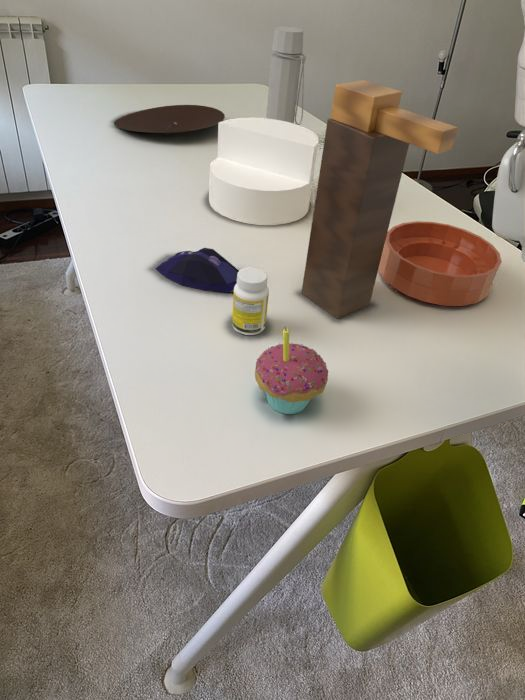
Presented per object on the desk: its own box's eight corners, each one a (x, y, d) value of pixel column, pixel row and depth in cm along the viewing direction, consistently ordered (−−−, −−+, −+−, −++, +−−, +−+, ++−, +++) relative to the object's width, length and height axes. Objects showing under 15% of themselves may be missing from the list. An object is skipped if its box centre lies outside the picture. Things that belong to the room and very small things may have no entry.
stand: (369, 305, 84) (412, 130, 68) (337, 319, 80) (374, 138, 64) (333, 281, 89) (365, 112, 72) (301, 293, 85) (327, 118, 69)
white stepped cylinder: (189, 206, 106) (189, 135, 98) (240, 175, 120) (244, 111, 112) (281, 235, 100) (290, 162, 91) (324, 199, 114) (334, 133, 106)
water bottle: (259, 143, 137) (268, 29, 122) (268, 134, 143) (278, 24, 128) (295, 150, 136) (308, 35, 120) (302, 140, 142) (316, 30, 126)
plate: (152, 104, 155) (151, 90, 153) (242, 124, 148) (242, 110, 146) (90, 129, 135) (89, 114, 133) (191, 154, 128) (191, 138, 125)
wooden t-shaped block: (457, 147, 64) (468, 111, 61) (431, 156, 61) (441, 118, 58) (357, 112, 72) (363, 79, 69) (330, 118, 69) (335, 84, 66)
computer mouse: (179, 249, 92) (179, 227, 90) (258, 274, 88) (260, 252, 86) (147, 273, 86) (146, 250, 83) (231, 302, 81) (233, 279, 79)
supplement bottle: (246, 312, 80) (250, 261, 75) (272, 326, 78) (278, 274, 72) (224, 325, 77) (227, 274, 72) (250, 340, 75) (254, 288, 69)
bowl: (483, 263, 98) (494, 232, 94) (493, 319, 84) (507, 286, 80) (380, 244, 100) (388, 214, 96) (374, 297, 86) (383, 263, 82)
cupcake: (285, 436, 62) (298, 354, 54) (237, 394, 66) (243, 313, 59) (336, 404, 66) (355, 324, 59) (288, 367, 71) (300, 288, 63)
